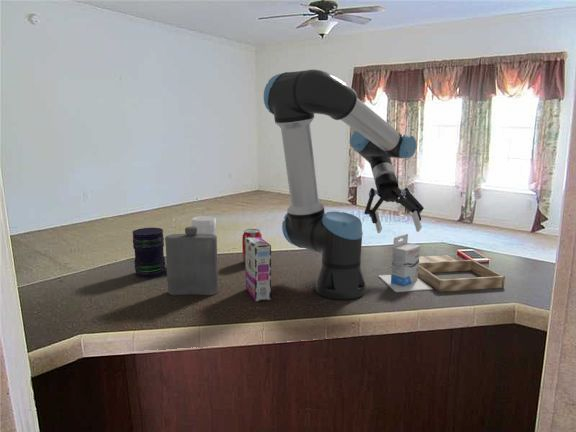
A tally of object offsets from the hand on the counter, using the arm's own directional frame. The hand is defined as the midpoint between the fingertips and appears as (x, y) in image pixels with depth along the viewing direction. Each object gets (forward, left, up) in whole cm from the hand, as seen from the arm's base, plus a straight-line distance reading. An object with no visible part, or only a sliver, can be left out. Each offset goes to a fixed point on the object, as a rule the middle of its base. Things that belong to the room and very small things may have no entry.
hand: (399, 230), depth 144 cm
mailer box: (+17, +1, -16) cm, 23 cm away
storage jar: (-82, +15, -16) cm, 84 cm away
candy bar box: (-48, -9, -16) cm, 51 cm away
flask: (-67, -4, -16) cm, 69 cm away
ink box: (-1, -7, -15) cm, 17 cm away
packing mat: (-1, -7, -16) cm, 17 cm away
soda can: (-47, +22, -16) cm, 54 cm away
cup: (-64, +27, -16) cm, 71 cm away
